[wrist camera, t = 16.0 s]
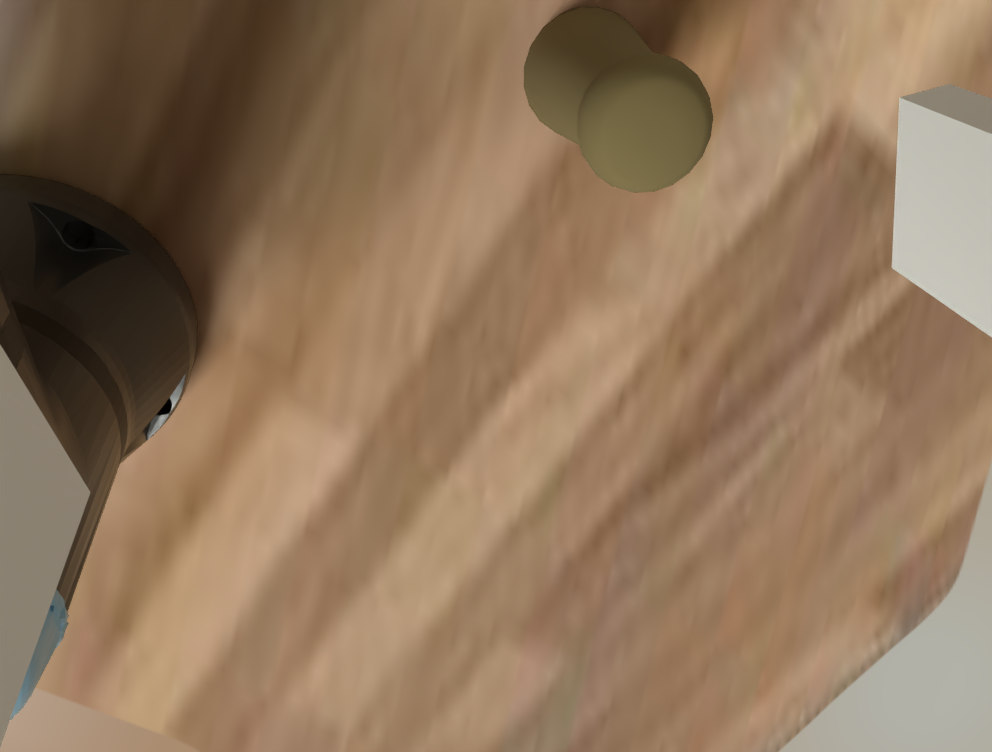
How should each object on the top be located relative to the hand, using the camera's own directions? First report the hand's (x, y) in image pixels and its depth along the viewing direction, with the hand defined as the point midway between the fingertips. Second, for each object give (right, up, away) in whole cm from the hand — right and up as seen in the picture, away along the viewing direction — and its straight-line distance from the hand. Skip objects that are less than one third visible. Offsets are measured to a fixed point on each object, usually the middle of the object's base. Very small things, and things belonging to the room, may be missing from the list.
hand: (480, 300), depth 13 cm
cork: (+4, +13, +29) cm, 32 cm away
